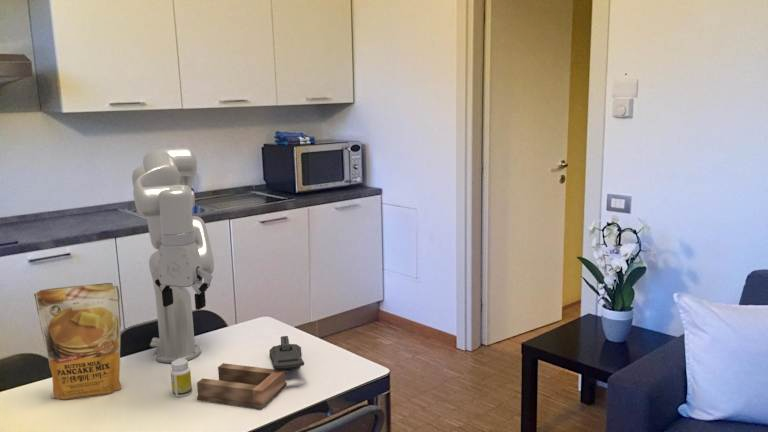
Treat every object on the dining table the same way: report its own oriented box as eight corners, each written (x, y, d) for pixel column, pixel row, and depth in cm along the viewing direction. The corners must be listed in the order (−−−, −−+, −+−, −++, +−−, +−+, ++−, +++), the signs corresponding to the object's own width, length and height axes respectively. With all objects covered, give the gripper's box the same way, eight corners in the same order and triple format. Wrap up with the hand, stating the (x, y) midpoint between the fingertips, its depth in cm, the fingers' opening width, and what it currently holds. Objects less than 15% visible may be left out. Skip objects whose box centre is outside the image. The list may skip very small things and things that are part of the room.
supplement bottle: (195, 390, 167) (193, 359, 165) (184, 398, 163) (181, 366, 161) (180, 388, 168) (177, 357, 167) (168, 396, 164) (165, 364, 162)
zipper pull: (271, 366, 165) (268, 331, 189) (272, 390, 166) (269, 352, 190) (306, 362, 166) (299, 328, 190) (307, 386, 168) (300, 349, 192)
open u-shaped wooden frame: (197, 400, 161) (195, 383, 160) (225, 378, 173) (224, 362, 173) (262, 409, 156) (261, 392, 155) (286, 386, 168) (285, 369, 167)
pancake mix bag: (50, 391, 168) (36, 287, 163) (129, 381, 173) (118, 279, 168) (44, 403, 162) (30, 295, 156) (126, 392, 167) (115, 287, 161)
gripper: (139, 241, 159) (146, 308, 162) (198, 243, 153) (204, 314, 156) (159, 235, 166) (165, 300, 169) (217, 237, 160) (222, 304, 163)
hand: (184, 306), depth 163 cm, fingers open, 9 cm apart
